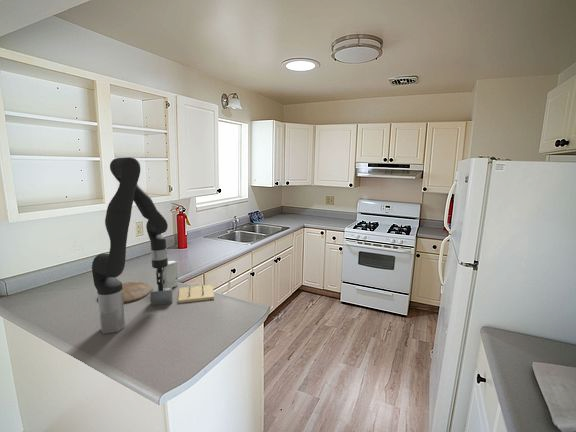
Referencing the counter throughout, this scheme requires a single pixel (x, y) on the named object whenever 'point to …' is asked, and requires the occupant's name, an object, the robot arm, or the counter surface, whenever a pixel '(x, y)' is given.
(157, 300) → the grey rectangular block
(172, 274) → the skincare box
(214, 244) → the counter surface
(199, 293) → the yellow peg board
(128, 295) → the trivet
